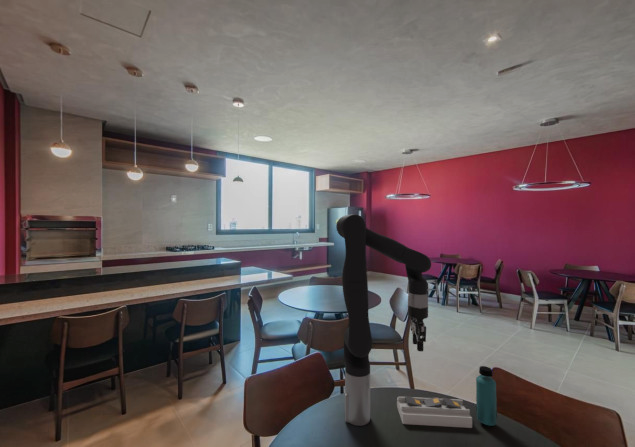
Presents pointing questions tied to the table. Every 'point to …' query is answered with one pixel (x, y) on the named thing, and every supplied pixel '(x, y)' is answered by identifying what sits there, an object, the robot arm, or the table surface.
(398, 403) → the power strip
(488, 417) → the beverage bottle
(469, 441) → the table surface
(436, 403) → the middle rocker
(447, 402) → the right rocker
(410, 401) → the left rocker
